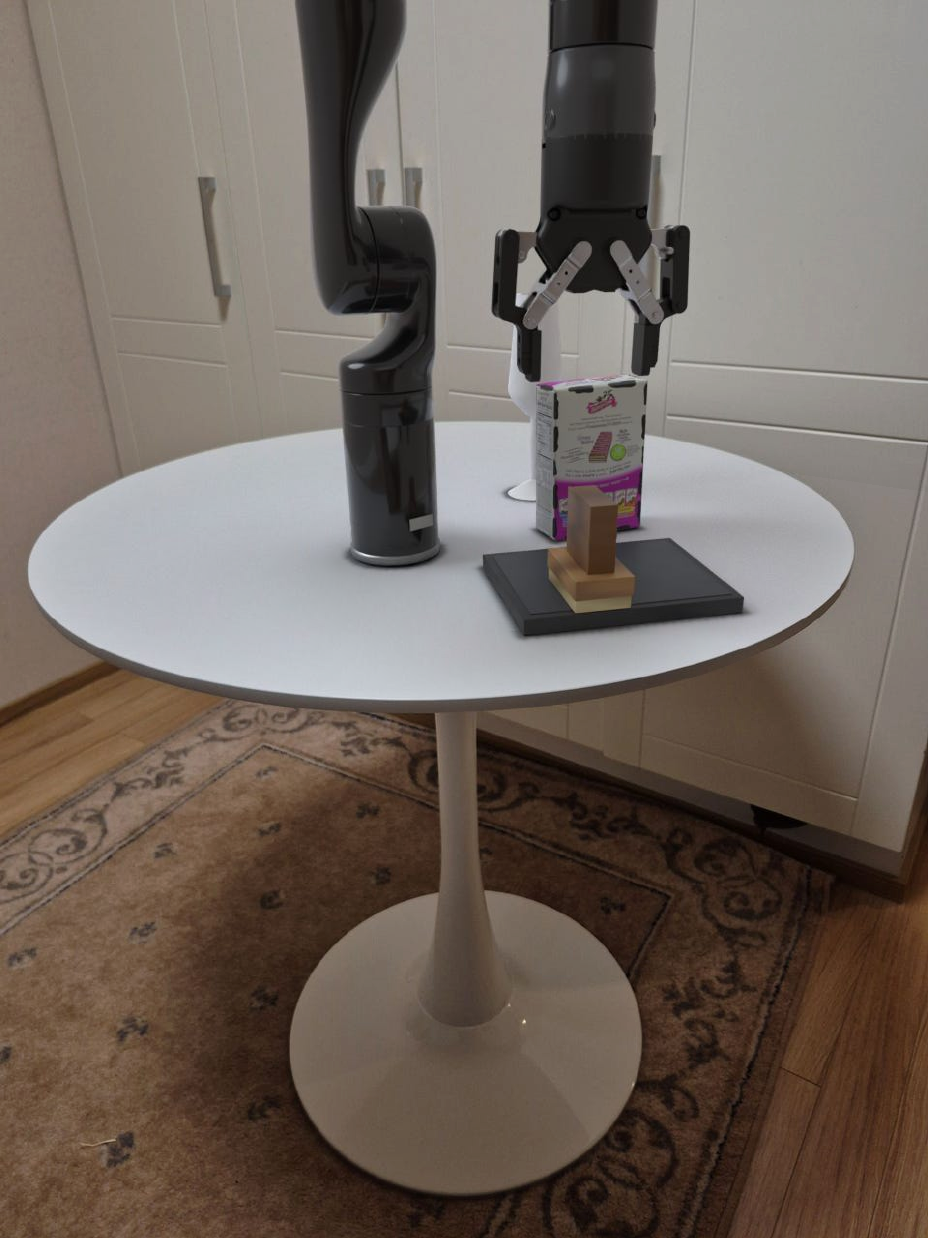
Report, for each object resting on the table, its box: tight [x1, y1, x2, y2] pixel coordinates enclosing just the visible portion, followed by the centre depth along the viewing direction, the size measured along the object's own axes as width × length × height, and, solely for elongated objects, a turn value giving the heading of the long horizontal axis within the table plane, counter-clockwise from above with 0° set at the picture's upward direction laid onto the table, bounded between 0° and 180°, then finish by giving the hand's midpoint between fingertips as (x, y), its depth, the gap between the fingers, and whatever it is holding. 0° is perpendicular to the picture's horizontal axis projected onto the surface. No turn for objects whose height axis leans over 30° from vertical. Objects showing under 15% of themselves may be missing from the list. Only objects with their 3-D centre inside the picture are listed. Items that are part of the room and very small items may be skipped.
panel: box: [482, 537, 745, 637], centre depth 81 cm, size 16×20×2 cm
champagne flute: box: [507, 291, 564, 502], centre depth 105 cm, size 7×7×24 cm
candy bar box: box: [535, 374, 649, 542], centre depth 94 cm, size 11×5×16 cm, turn 112°
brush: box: [547, 485, 635, 613], centre depth 75 cm, size 8×5×9 cm, turn 11°
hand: (586, 377), depth 65 cm, fingers open, 8 cm apart
